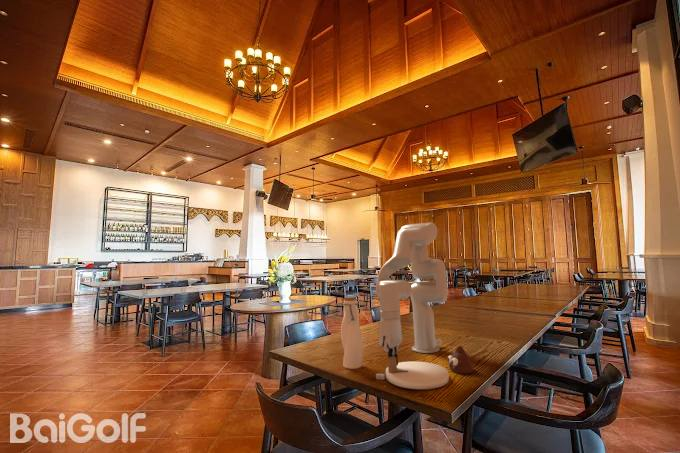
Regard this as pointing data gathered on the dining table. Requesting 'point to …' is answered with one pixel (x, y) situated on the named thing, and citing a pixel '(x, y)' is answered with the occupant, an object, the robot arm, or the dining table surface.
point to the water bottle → (351, 334)
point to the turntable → (416, 374)
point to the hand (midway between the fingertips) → (393, 365)
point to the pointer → (380, 376)
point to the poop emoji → (460, 362)
